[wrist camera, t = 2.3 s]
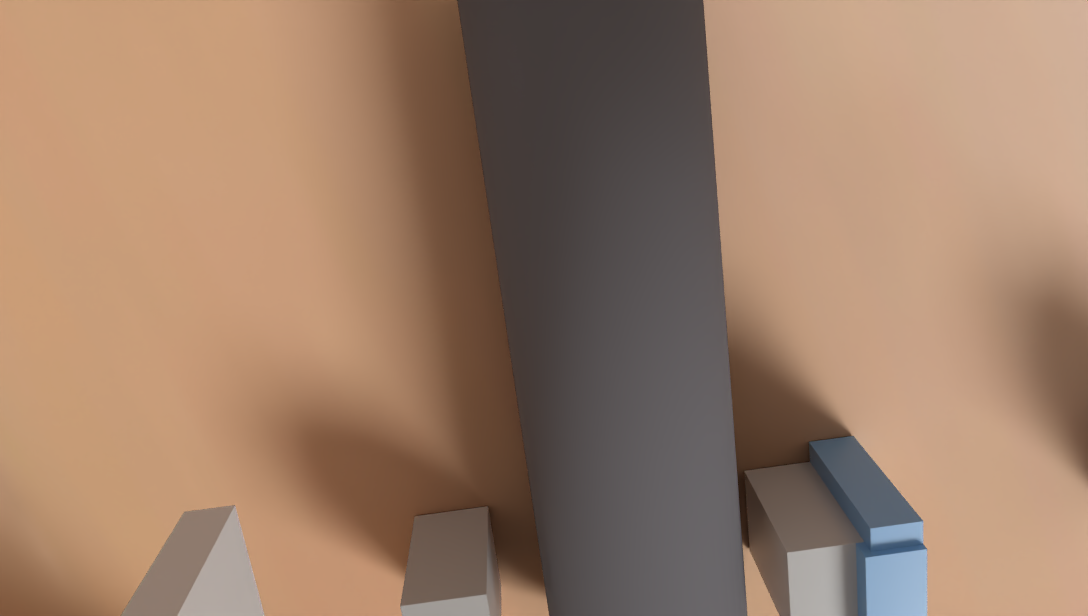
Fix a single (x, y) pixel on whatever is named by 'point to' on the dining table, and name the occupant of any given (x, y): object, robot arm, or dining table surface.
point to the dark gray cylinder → (613, 296)
